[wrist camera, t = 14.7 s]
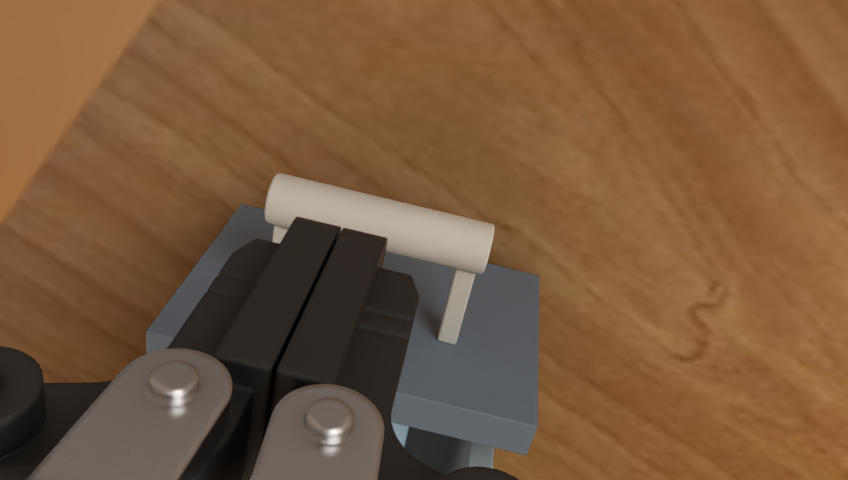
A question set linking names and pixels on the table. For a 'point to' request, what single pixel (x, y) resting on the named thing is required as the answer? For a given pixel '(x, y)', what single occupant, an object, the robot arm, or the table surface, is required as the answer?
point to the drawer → (416, 317)
